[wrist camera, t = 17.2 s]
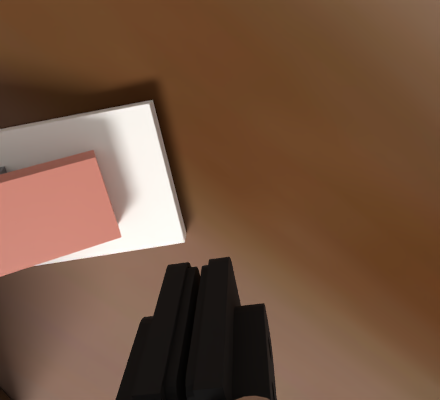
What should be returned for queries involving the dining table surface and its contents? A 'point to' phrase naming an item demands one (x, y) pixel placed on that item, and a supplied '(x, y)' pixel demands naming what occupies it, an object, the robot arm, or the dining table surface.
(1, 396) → the olive oil
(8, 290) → the dining table surface
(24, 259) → the red domino
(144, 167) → the board
